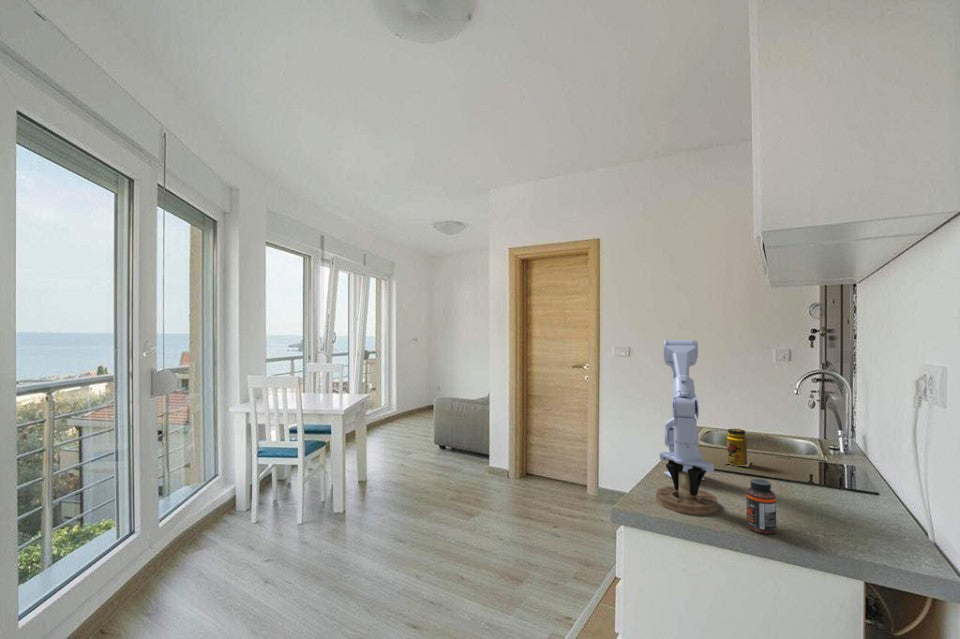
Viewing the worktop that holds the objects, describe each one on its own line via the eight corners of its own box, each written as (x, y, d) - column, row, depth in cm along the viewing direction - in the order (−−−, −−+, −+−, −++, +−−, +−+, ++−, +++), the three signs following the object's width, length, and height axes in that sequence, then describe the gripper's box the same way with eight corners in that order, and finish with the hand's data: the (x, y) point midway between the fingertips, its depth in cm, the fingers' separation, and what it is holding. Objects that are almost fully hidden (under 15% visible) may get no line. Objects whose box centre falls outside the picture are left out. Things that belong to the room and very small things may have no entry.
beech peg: (689, 496, 124) (689, 471, 125) (697, 502, 120) (697, 475, 121) (675, 496, 124) (675, 471, 124) (683, 502, 120) (683, 475, 120)
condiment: (724, 464, 157) (723, 430, 157) (728, 459, 163) (728, 426, 164) (748, 468, 152) (747, 433, 152) (752, 462, 159) (751, 428, 159)
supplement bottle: (741, 523, 109) (740, 476, 109) (766, 524, 109) (765, 477, 109) (755, 535, 103) (755, 485, 103) (782, 535, 103) (781, 485, 103)
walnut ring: (697, 492, 130) (697, 485, 130) (730, 513, 115) (729, 505, 115) (647, 493, 129) (647, 486, 129) (673, 515, 114) (673, 507, 114)
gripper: (653, 438, 126) (653, 487, 126) (703, 449, 114) (704, 503, 114) (667, 435, 130) (668, 482, 130) (717, 445, 118) (718, 497, 118)
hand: (686, 492), depth 122 cm, fingers closed on beech peg, 4 cm apart
